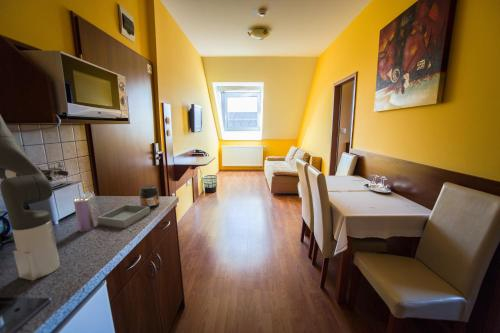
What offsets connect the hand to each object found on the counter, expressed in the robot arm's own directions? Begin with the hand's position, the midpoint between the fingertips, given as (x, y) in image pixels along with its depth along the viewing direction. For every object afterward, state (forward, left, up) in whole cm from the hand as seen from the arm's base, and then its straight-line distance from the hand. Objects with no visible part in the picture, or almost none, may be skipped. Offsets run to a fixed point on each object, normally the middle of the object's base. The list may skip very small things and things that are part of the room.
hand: (60, 175), depth 99 cm
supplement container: (+35, -17, -26) cm, 47 cm away
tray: (+16, -17, -26) cm, 35 cm away
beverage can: (+2, -8, -26) cm, 28 cm away
